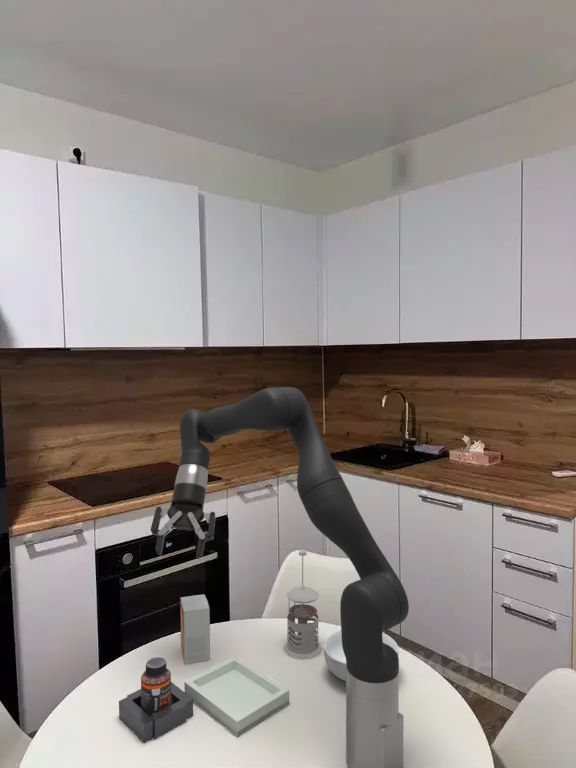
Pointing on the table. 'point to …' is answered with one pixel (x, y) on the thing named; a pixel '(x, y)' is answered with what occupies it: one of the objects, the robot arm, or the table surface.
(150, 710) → the supplement bottle
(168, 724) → the collar
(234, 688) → the tray
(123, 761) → the table surface
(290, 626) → the french press
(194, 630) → the small box
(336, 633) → the cereal bowl
